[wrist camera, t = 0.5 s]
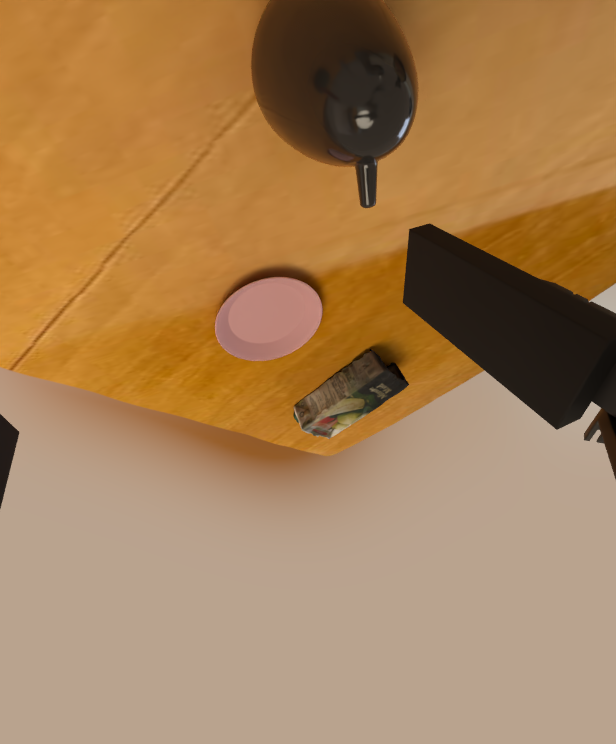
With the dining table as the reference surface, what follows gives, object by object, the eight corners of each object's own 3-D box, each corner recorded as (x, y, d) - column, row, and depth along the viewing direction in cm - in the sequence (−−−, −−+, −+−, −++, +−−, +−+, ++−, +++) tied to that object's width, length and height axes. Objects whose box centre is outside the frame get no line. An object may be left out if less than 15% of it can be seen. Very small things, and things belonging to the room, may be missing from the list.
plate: (337, 286, 48) (342, 296, 47) (285, 357, 56) (289, 367, 55) (241, 251, 40) (245, 262, 39) (196, 341, 48) (198, 352, 47)
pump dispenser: (250, 141, 32) (302, 231, 23) (229, -35, 24) (296, -1, 15) (357, 126, 34) (442, 204, 25) (371, -42, 26) (506, -15, 17)
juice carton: (318, 420, 75) (328, 446, 72) (287, 409, 68) (296, 436, 64) (396, 362, 68) (412, 387, 64) (370, 343, 61) (386, 369, 57)
